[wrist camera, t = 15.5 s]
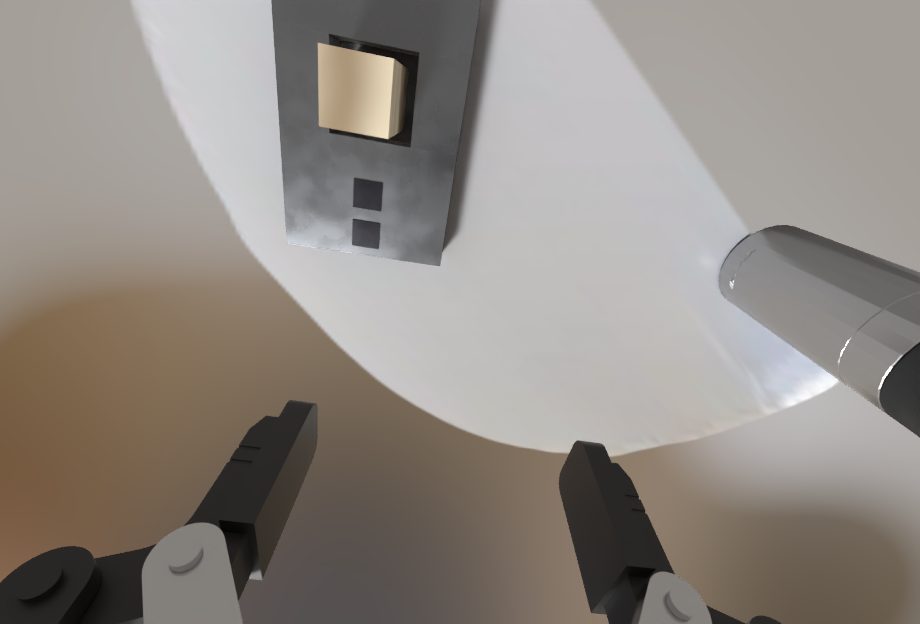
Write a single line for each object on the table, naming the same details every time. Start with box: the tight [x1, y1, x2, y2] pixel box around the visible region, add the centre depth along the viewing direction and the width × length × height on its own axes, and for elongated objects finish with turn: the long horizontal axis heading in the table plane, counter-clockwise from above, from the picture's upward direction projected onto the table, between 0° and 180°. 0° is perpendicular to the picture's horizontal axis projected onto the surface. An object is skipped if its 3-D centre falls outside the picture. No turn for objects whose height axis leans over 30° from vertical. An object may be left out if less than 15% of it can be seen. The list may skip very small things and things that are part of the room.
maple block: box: [318, 43, 409, 139], centre depth 27 cm, size 4×4×9 cm
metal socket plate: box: [272, 0, 481, 266], centre depth 31 cm, size 14×20×3 cm
